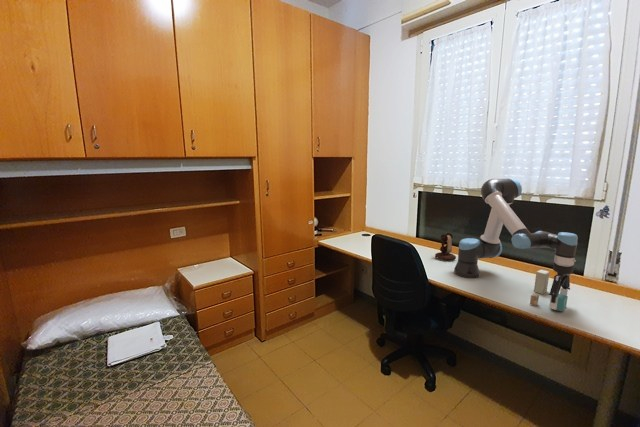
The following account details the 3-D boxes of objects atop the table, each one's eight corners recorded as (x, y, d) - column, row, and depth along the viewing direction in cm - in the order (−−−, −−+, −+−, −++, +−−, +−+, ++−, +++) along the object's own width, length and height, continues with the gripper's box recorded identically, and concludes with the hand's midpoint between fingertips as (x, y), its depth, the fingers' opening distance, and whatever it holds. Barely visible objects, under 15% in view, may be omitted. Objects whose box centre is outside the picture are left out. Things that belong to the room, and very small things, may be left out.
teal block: (549, 307, 147) (551, 295, 146) (553, 304, 150) (554, 292, 149) (562, 311, 143) (564, 299, 142) (565, 308, 146) (567, 296, 144)
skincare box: (538, 288, 171) (540, 269, 169) (547, 291, 167) (550, 271, 165) (533, 291, 167) (536, 271, 165) (542, 294, 164) (545, 273, 162)
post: (529, 304, 152) (531, 295, 152) (531, 302, 154) (533, 293, 153) (535, 306, 150) (536, 296, 150) (537, 304, 152) (538, 295, 151)
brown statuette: (449, 263, 215) (451, 237, 211) (431, 258, 226) (432, 233, 223) (459, 259, 223) (461, 234, 220) (441, 254, 235) (443, 230, 232)
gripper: (564, 271, 132) (558, 315, 136) (581, 261, 146) (575, 300, 150) (544, 267, 138) (539, 308, 142) (562, 257, 153) (557, 295, 156)
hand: (557, 304), depth 146 cm, fingers open, 13 cm apart
